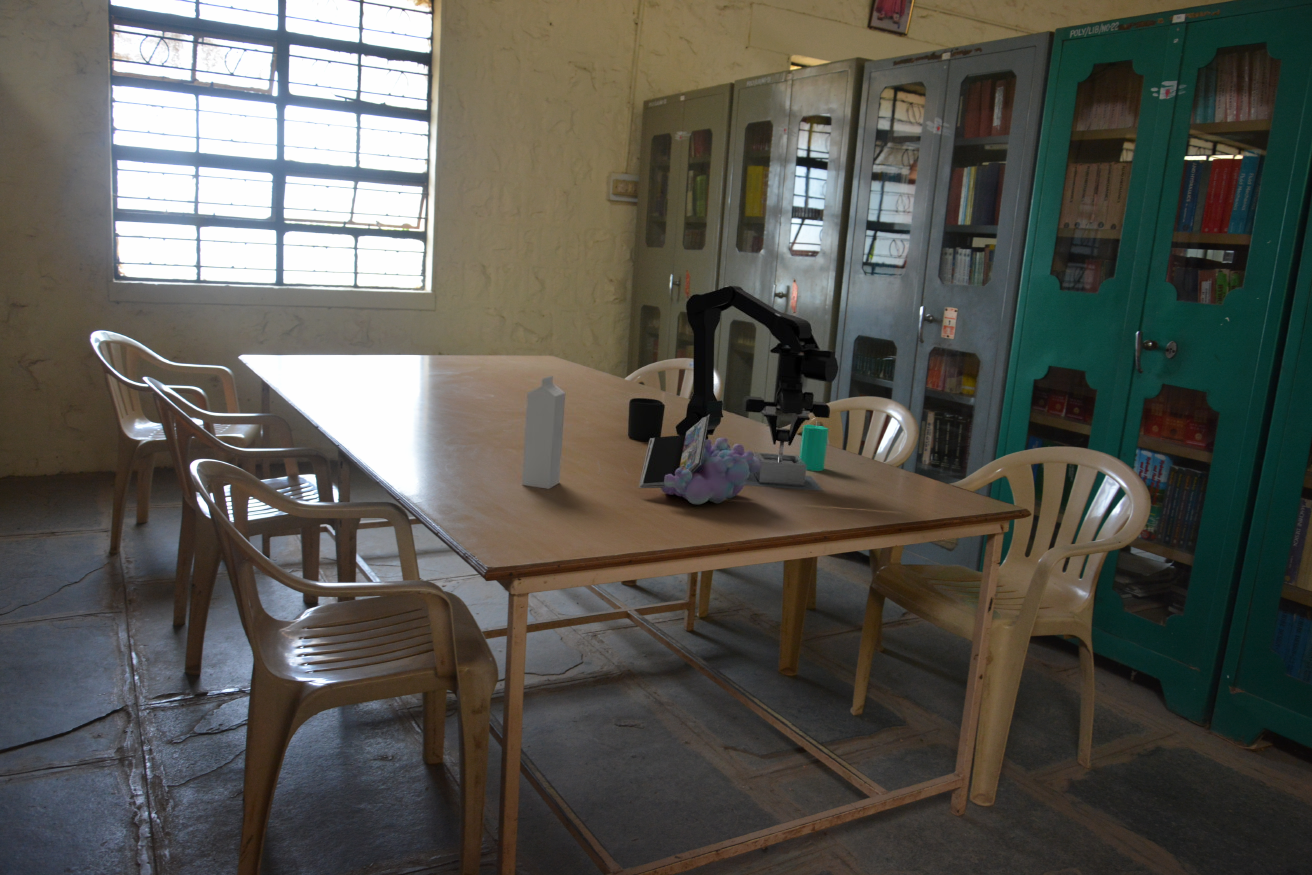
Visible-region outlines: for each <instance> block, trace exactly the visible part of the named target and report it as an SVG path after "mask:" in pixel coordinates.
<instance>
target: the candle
mask: <svg viewBox="0 0 1312 875" xmlns="http://www.w3.org/2000/svg"><path fill="white" fill-rule="evenodd" d="M817 423H818V421H817V420H816V422H815V425H814V424H805V425H803V427H802V436H801V445H800V454H799V457H800V458H801V460H802V461H803V462H804V463H805V464H806V465H807V466H806V471H813V472H819V471H820V472H821V471H824V469H825V462H826V453H827V452H826V451H827V444H828V437H829V436H828V435H829V428H827V427H824V426H823V425H819V426H818V425H817Z"/></svg>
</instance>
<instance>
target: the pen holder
mask: <svg viewBox="0 0 1312 875" xmlns="http://www.w3.org/2000/svg"><path fill="white" fill-rule="evenodd" d="M665 406H666V405H665V404H664V402H662V401H661V400H659V399H655V398H647V397H646V398H644V397H634V398H631V399H630V400H629V401H628V419H627V420H628V421H627V423H628V424H627V436H628V438H630V439H631V440H634V441H639V442H649V441H650V438H655V437H662V429H663V422H664V417H665V416H664V415H665V410H666V409H665Z"/></svg>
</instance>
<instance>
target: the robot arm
mask: <svg viewBox="0 0 1312 875" xmlns="http://www.w3.org/2000/svg"><path fill="white" fill-rule="evenodd" d="M732 307H734V308H735V309H737V310H739V311H740V312H742V313H744V314H745V315H747V316H748V317H750V318H751V319H753V320H755V321H757V322H758V323H760V324H761V325H763V326H765V327H766V328H767V329H768V331H769V333H770V334H771V336H773V337H774V338H775V339H776V340H777V341H778V343H777V345H775V346H774V347H772V348H771V349H770V351H769V352H770V353H771V354H775V355H776V354H777V355H778V360H777V368H776V377H775V384H774V386H775V387H774V393H773V394H774V395H773V401H767V400H764V398H763V397H761V396H751V395H746V396H744V397H743V399H742V407H741V408H742V409H743V410H744V411H745V412H748V413H758V414H761V415H762V416H763V417H765V418H766V420H767V423H768V427H769V430H770V431H769V432H770V436H771V442H772V445H775V446H776V445H777V441H776V438H777V425H778V424H777V422H778V415H777V414H776V412H777V411H779V412H781V413H782V414H787V415H788V414H792V415H791V421H790V426H789V430H790V437H789V442H787V445H788V446H789V447H791V446H792V444H793V442H794V439H795V437H796V435H797V432H798V431H799V429H800V427H802V425H803V423H804V422H806V421H810V419H811V418H810V417H809V416H810V414H813V416H814V417H815V418H822V419H830V413H831V408H830V406H829V405H828V404H827V403H826V402H824V401H815V400H814V392H812V391H804V392H803V377H804V378H805V379H807V380H813V381H818V382H824V383H833V382H834V381H835V380H836V378H837V375H838V373H839V364H838V358H837V357H836V351H835V350H830V349H829V350H823V349H821V348H820V347H819V345H818V342H817V341H816V338H815V337H814V334H813V332H812V330H813V329H812V325H811V323H810V322H809V321H808V320H807V319H804V318H801V317H799V316H796V315H793V314H788V313H785V312H782V311H779V310H777V309H776V308H774V307H772V306H771V305H769V304H768V303H766V302H764V301H763V300H761V299H759V298H757V297H756V296H754V295H753V294H751V293H749V292H747V291H746V290H744V289H743V288H742V287H741V286H739V285H726V286H724V287H722V288H721V287H720V288H719V289H715V290H713V291H709V292H705V293H695V294H693V295H691V296H690V297H689V298H688V299H687V300H686V303H685V310H686V317H687V323H688V324H689V327H690V328H691V331H692V334H693V337H692V338H693V348H692V350H693V352H692V355H693V358H692V359H693V361H692V363H693V365H692V366H693V371H692V372H693V376H692V377H693V378H692V380H693V382H692V383H693V384H692V386H693V389H692V390H693V392H692V395H691V397H690V399H689V401H688V403H687V407H686V414H685V417H684V418H683V419H682V420H681V421H680V422H679V423H677V424H676V425H675V430H676V436H679V435H683V436H686V433H687V431H688V430H689V429H691V428H692V427H693V426H694V425H696V424H697V423H698V422H699V421H700V420H701V419H702V418H704V417H707V416H708V415H709V414H710V417H709V423H708V428H707V434H706V440H707V439H709V436H713V435H714V433H715V431H716V429H717V427H718V426H719V425H720V424H721V422H722V418H724V414H723V405H724V404H723V403H724V401H723V400H718V399H717V396H716V395H715V391H714V390H715V332H716V329H717V328H718V327H719V326H718V325H719V323H720V322H721V314H722V312H724V311H727V310H729V309H731V308H732Z"/></svg>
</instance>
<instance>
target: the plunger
mask: <svg viewBox="0 0 1312 875" xmlns="http://www.w3.org/2000/svg"><path fill="white" fill-rule="evenodd" d="M789 437H790V428H783V427H779V428H777V438H776V442H779V447H778V449H779V450H778V454H779V456H778V460H773V459H764V460H765V461H770V462H783V463H793V462H792V461H786V460H782V456H783V454H784V447H785V446H784V445H785V443H788V442H789Z"/></svg>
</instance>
